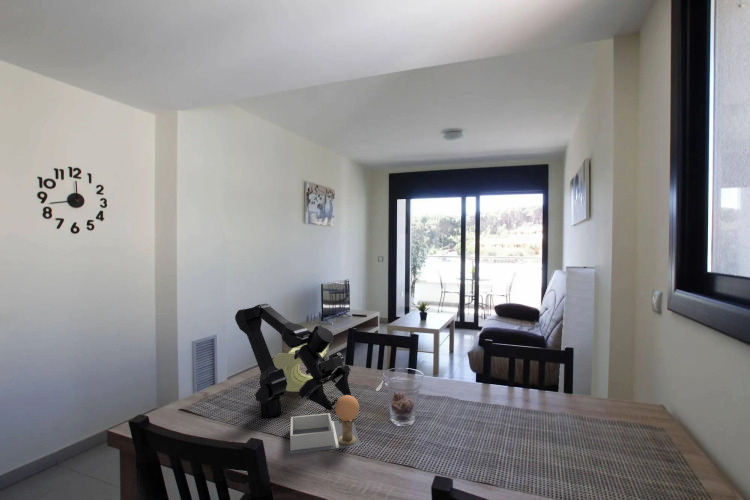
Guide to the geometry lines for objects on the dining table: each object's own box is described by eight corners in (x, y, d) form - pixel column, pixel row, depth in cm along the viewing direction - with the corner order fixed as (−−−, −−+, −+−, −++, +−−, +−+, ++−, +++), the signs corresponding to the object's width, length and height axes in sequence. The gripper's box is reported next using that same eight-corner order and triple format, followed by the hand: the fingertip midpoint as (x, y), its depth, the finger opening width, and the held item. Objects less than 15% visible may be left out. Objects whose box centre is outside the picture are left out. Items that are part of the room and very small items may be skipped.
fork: (370, 394, 147) (370, 389, 147) (386, 374, 170) (386, 370, 170) (378, 394, 146) (378, 390, 146) (393, 374, 169) (393, 370, 169)
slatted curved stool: (296, 373, 171) (296, 334, 171) (330, 374, 169) (330, 335, 169) (272, 399, 141) (272, 352, 141) (313, 401, 140) (313, 353, 140)
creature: (318, 414, 131) (334, 414, 127) (315, 398, 132) (331, 398, 127) (333, 406, 137) (349, 406, 133) (331, 391, 138) (346, 391, 134)
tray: (290, 450, 104) (290, 436, 104) (291, 429, 116) (290, 416, 116) (333, 445, 107) (333, 431, 107) (329, 425, 119) (329, 413, 119)
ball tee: (339, 446, 106) (339, 423, 106) (338, 437, 111) (337, 415, 111) (357, 444, 107) (356, 421, 107) (354, 435, 112) (354, 414, 112)
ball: (336, 426, 105) (336, 401, 105) (334, 415, 112) (334, 392, 112) (360, 423, 106) (360, 399, 106) (357, 413, 113) (357, 390, 113)
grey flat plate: (289, 456, 102) (289, 453, 102) (290, 427, 119) (290, 425, 119) (361, 447, 107) (361, 445, 107) (352, 420, 123) (352, 418, 123)
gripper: (305, 353, 105) (336, 400, 99) (345, 339, 121) (374, 379, 115) (286, 376, 110) (315, 422, 104) (327, 360, 125) (354, 399, 119)
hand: (341, 404), depth 110 cm, fingers open, 9 cm apart
